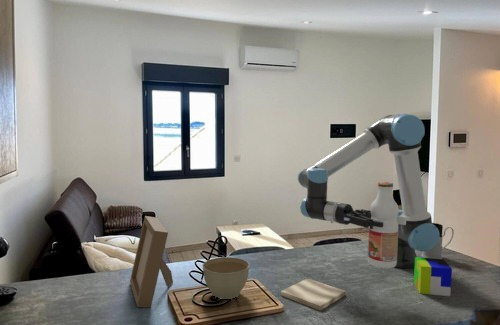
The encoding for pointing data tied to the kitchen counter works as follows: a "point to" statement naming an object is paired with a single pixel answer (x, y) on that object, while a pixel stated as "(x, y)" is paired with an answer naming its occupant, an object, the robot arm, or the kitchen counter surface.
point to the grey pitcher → (437, 249)
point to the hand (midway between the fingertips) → (399, 223)
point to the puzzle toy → (432, 276)
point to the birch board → (313, 294)
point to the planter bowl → (226, 276)
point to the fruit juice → (383, 240)
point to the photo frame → (149, 262)
